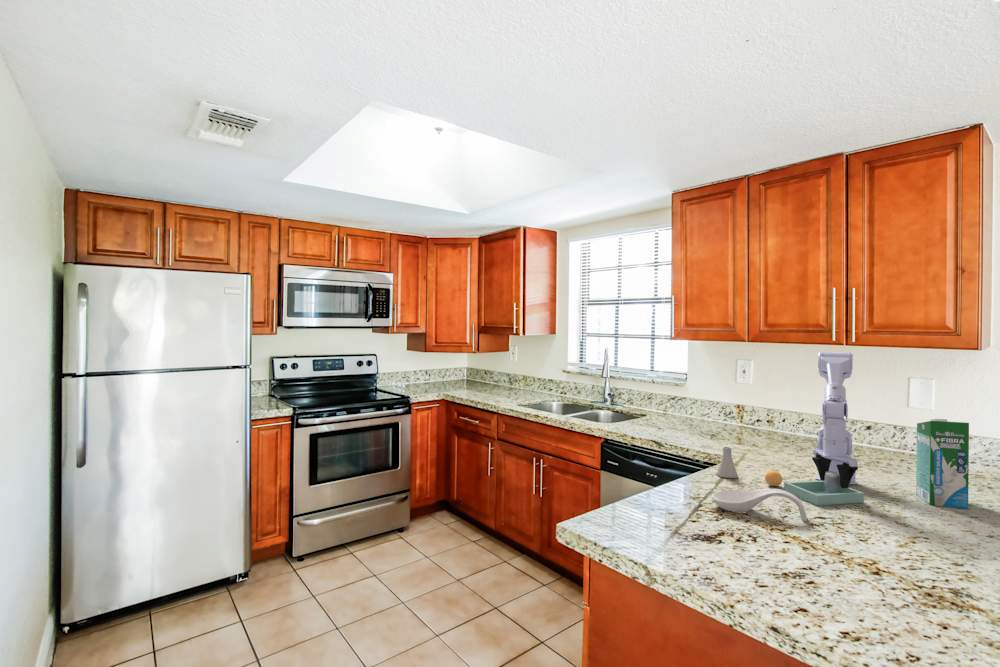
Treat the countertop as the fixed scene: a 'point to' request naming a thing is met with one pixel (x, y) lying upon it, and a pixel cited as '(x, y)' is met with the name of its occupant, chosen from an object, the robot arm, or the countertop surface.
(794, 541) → the countertop surface
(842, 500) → the tray
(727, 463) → the flask
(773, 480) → the ball
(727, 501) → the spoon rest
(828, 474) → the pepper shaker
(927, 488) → the milk carton
